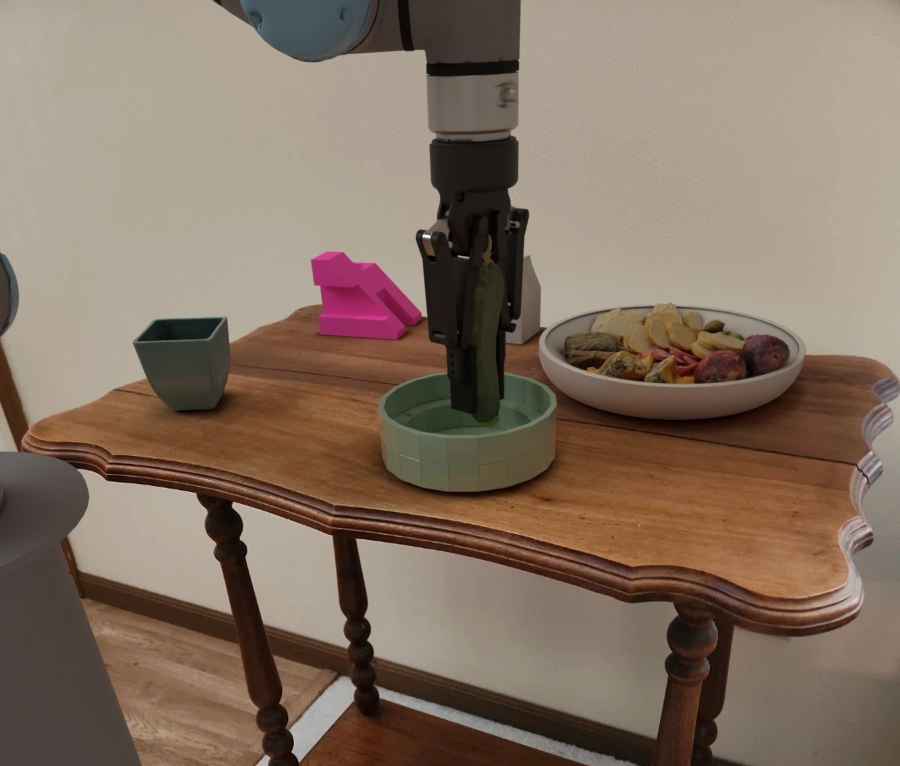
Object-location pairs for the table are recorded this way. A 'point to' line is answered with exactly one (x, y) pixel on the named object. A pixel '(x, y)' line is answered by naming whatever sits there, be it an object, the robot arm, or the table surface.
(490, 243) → the vegetable
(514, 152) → the robot arm
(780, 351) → the bowl
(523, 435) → the mixing bowl
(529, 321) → the milk carton
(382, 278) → the bracket
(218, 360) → the flower pot
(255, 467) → the table surface
